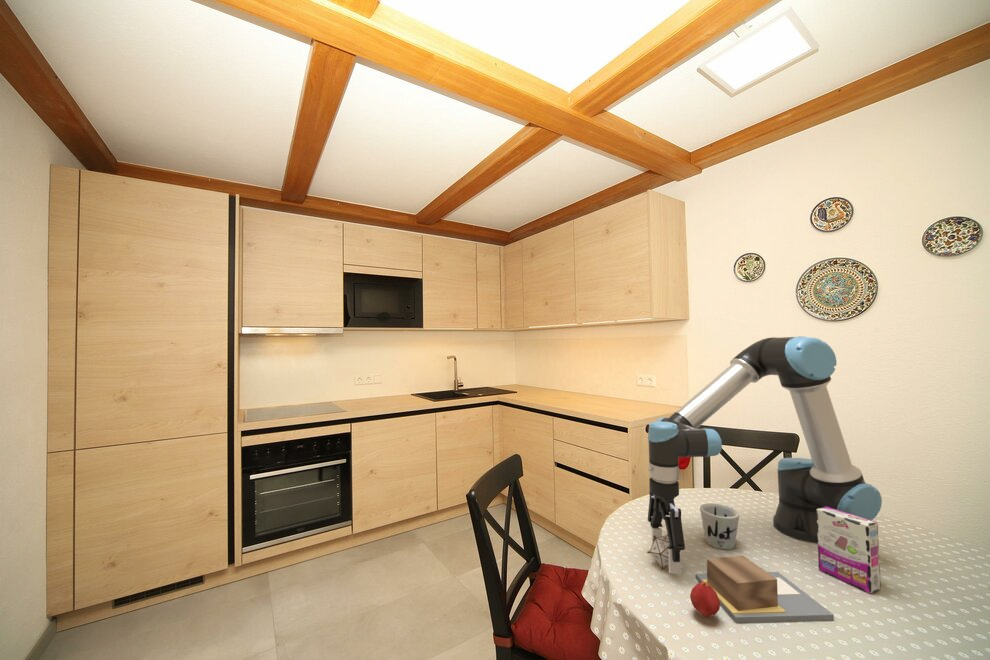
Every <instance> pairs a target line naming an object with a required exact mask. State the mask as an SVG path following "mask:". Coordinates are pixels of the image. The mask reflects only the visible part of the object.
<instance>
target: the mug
mask: <svg viewBox="0 0 990 660" xmlns="http://www.w3.org/2000/svg"><path fill="white" fill-rule="evenodd" d="M699 511H700V516H701V522H702V528H703V532H704V538H705V539H704V540H705V541H706V543H707V544H708V545H710V546H711V547H714V548H717V549H719V550H721V549H722V550H732V549H734V548H735V546H736V541H737V539H736V538H737V533H738V526H739V519H740V513H739V512H738V511H737V510H736V509H734V508H733V507H730V506H728V505H724V504H720V503H704V504H701V505H700V506H699Z"/></svg>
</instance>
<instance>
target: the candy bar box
mask: <svg viewBox="0 0 990 660" xmlns="http://www.w3.org/2000/svg"><path fill="white" fill-rule="evenodd" d="M816 512H817V536H818V543H817V555H818V560H817V561H818V571H820V572H822V573H823V574H826V575H828V576H831V577H833V578H835V579H836V580H839V581H841V582H844V583H846V584H848V585H851V586H853V587H854V586H855V588H857V589H859V590H862V591H864V592H866V593H867V594H870V595H871V594H873V593H876V592H878V591H880V590H881V589H882V587H881V586H882V585H881V583H882V582H881V567H880V563H881V562H880V546H879V527H878V525H879V524H878V522H877V521H874V520H868V519H865V518H862V517H859V516H855V515H852V514H849V513H846V512H843V511H839V510H836V509H833V508H830V507H827V506H826V507H822V508H819V509H816Z"/></svg>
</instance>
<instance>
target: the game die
mask: <svg viewBox="0 0 990 660" xmlns="http://www.w3.org/2000/svg"><path fill="white" fill-rule="evenodd" d="M653 537H654V538H655V539H653V541H654V542H653V545H652V544H651V547H650V550H647V552H646V553H647V554H651V556H652V557H653V558H654V560H656V561H657V562H658V564H659V565H660V566H661V571H663V570H664V568H666V567H669V552H668V546H670V543H669V538H668V533H667V532H666V535H662V536H661V537H656V536H654V535H653ZM681 552H682V550H680V553H681Z"/></svg>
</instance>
